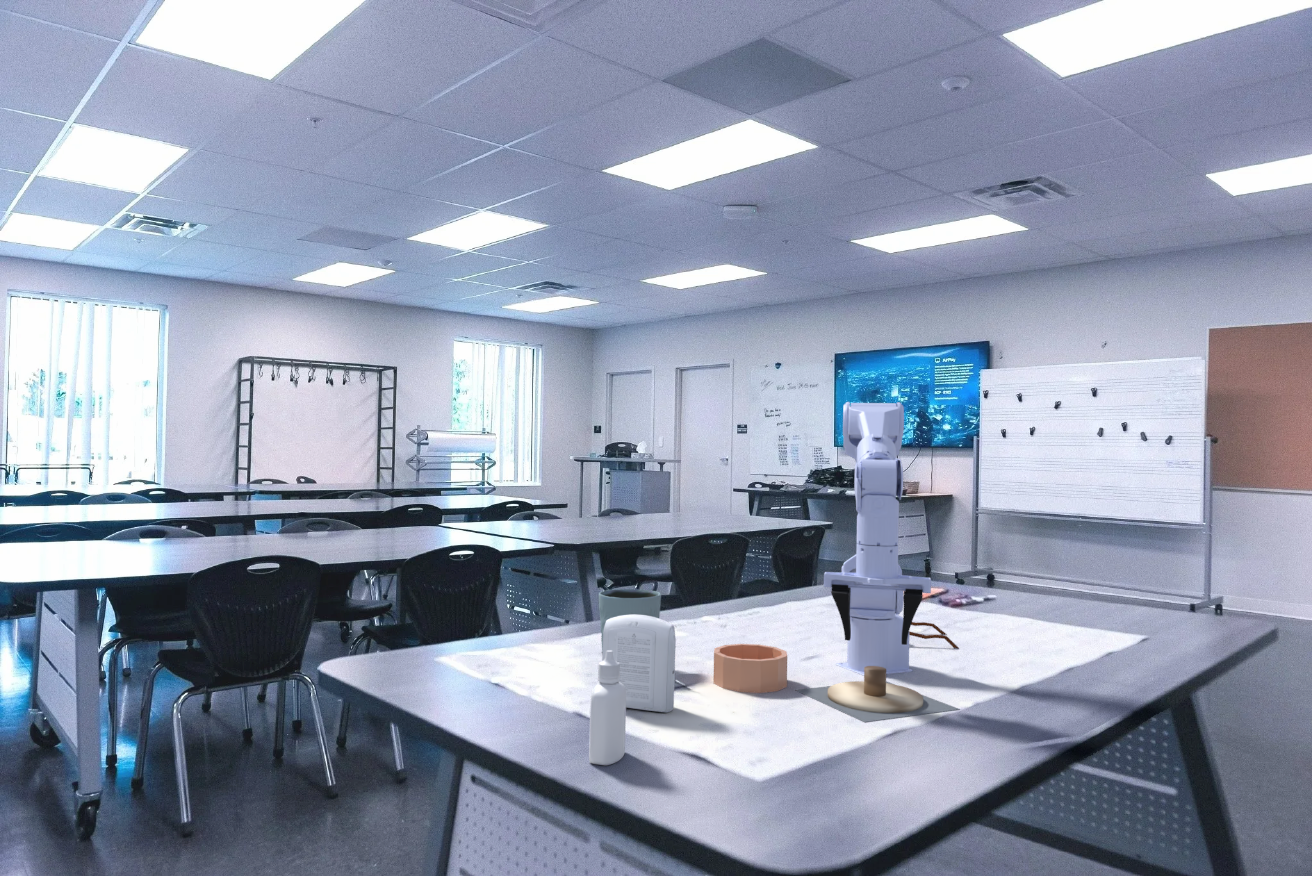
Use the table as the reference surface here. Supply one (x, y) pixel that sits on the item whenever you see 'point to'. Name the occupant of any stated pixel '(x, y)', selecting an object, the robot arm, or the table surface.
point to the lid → (875, 694)
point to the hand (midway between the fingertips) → (875, 641)
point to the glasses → (931, 635)
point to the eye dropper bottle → (607, 714)
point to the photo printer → (643, 659)
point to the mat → (864, 716)
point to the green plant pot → (627, 604)
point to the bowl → (750, 668)
